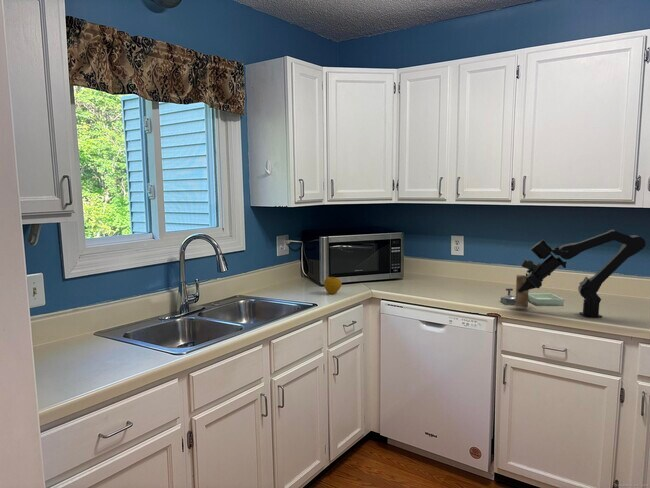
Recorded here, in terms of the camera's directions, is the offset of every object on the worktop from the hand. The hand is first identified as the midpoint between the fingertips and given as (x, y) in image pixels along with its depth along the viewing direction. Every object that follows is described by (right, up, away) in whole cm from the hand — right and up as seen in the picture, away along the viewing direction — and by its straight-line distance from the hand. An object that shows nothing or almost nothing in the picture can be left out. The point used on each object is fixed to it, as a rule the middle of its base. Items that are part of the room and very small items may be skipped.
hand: (518, 290), depth 210 cm
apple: (-82, -5, +33) cm, 88 cm away
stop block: (+1, -7, 0) cm, 7 cm away
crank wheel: (+1, -5, +12) cm, 13 cm away
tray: (+17, -7, +13) cm, 23 cm away
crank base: (+1, -7, +12) cm, 14 cm away
